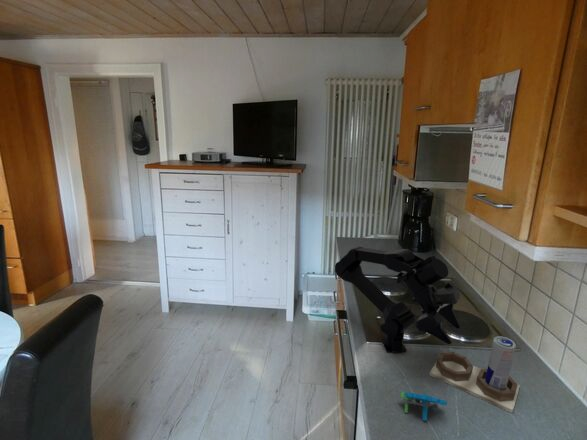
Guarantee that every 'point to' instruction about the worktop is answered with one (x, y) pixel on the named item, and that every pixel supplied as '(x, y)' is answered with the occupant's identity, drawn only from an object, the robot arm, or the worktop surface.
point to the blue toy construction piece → (425, 401)
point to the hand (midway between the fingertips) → (454, 335)
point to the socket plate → (473, 380)
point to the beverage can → (500, 362)
